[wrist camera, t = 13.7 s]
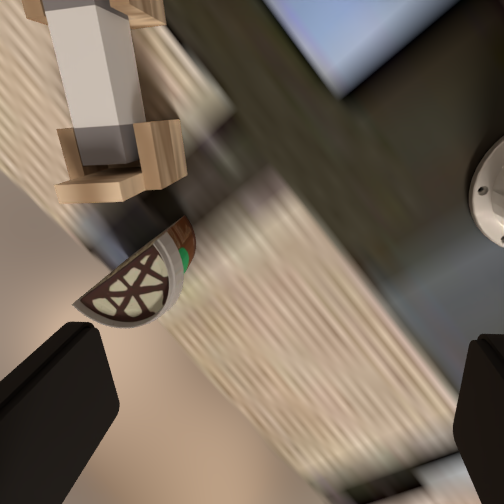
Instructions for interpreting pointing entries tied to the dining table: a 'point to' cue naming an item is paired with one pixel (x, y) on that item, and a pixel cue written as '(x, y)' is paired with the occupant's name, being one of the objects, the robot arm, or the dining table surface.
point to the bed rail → (98, 77)
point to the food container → (143, 281)
